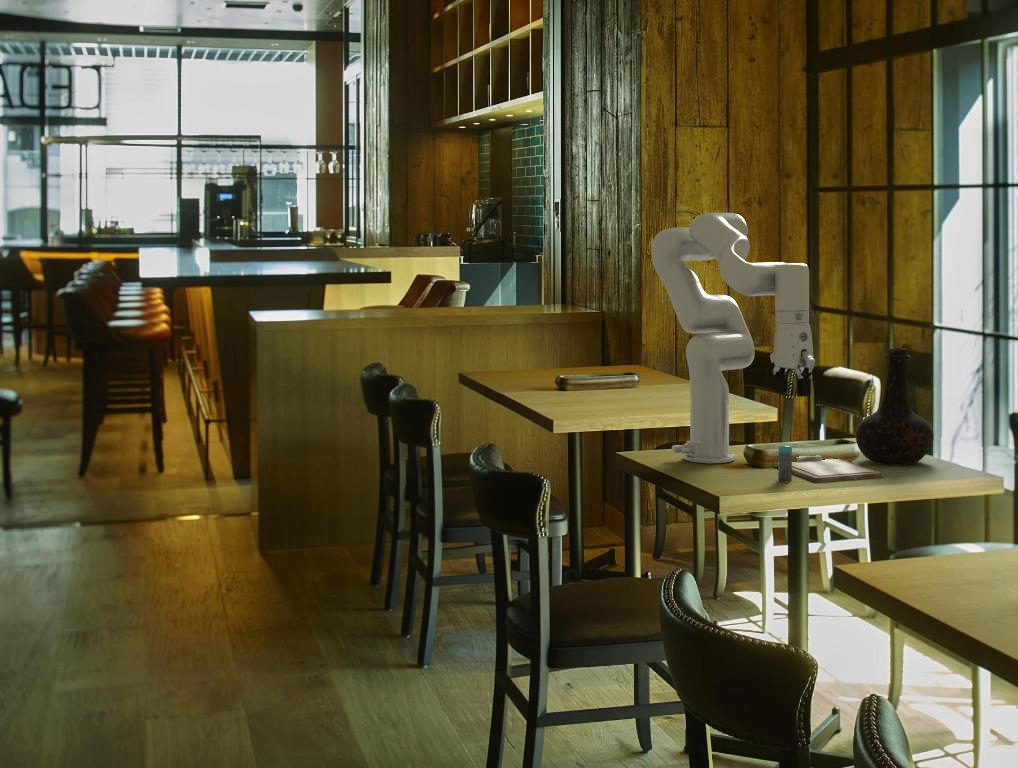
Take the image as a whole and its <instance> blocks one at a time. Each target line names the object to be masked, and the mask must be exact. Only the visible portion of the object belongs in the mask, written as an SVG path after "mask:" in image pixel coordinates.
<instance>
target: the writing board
mask: <svg viewBox="0 0 1018 768" xmlns="http://www.w3.org/2000/svg"><path fill="white" fill-rule="evenodd" d="M815 455H816V456H809V455H799V457H796V458H797V462H792V475H795V476H797V475H798V476H797V477H800V478H802V477H803V479H806V480H807V481H810V482H813V483H827V482H838V481H839V480H841V481H851V479H854V480H864V478H867V479H878V478H877V477H881V478H883V472H880V471H877V470H874V469H871V468H868V467H866V466H862V465H859V464H856V463H854V462H849V461H847V460H844V459H841V458H838V459H833V458H824V459H825V460H822V459H823V456H822V455H819V454H815ZM777 467H778V464H777Z"/></svg>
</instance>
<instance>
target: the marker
mask: <svg viewBox="0 0 1018 768" xmlns="http://www.w3.org/2000/svg"><path fill="white" fill-rule="evenodd" d="M777 454H778V468H777V469H778V470H777V472H778V473H777V478H778V479H777V481H778V480H779V481H778V482H780V481H788V482H787V483H790V482H789V481H791V482H792V480H793V479H792V478H793V477H792V476H793V474H792V461H793V446H792V445H789V444H781V445H778V453H777Z"/></svg>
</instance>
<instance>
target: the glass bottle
mask: <svg viewBox="0 0 1018 768" xmlns="http://www.w3.org/2000/svg"><path fill="white" fill-rule="evenodd" d="M885 357H886V358H888V360H887V362H888V363H887V373H886V379H885V387H884V392H883V397H882V400H881V403H880V406H879V407H878V409H877V410H876V411H875V412H872V413H871V414H869V415H867V416H866V417H864V418H863V419H862V420H861V421H860V422H859V424H858V426H857V429H856V432H855V441H856V446H857V447H858V449H859V451H860V452H861V454H862V455H863V456H864V457H865V458H866V459H868V460H869V461H871V462H873V463H877V464H879V465H886V464H887V466H912V465H914V464H916V463H919V461H921V460H922V459H923V458H924V457H925V456H926V455H927V454H928V453H929V451H930V450H931V447H932V445H933V443H934V432H933V428H932V427H931V424H930V423H929V422H928V421H927V420H926V419H925V418H923V417H922V416H920V415H918V414H916V413H915V412H914V411H913V410H912V408H911V405H910V400H909V399H910V398H909V386H908V384H909V383H908V359H911V358H912V356H911V355H909V354H908V348H904V347H895V348H891V347H890V348H888V353H887V354H886V355H885Z"/></svg>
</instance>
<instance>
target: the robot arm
mask: <svg viewBox="0 0 1018 768" xmlns="http://www.w3.org/2000/svg"><path fill="white" fill-rule="evenodd" d="M748 232H749V230H748V224H747V223H746V221H745V219H744V218H743V217H742V216H741V215H740V214H737V213H734V212H706V213H705V212H704V213H701V214H699V215H697V216H696V217H695V218H693V219H692V221H691V222H690V223H689V227H687V226H686V227H670V228H665V229H663V230H661V231H660V232H658V233H657V234H656V235H655V237H654V238H653V240H652V243H651V260H652V265H653V267H654V270H655V273H656V274H657V276H658V278H659V279H660V281H661V282H662V284H663V286H664V287H665V290H666V291H667V292H666V293H667V294H668V298H669V300H670V302H671V304H672V307H673V310H674V312H675V315H676V318H677V319H678V321H679V324H680V327H681V328H682V329H683V331H685V332H686V333H688V334H696V335H694V336H693V337H691V338H690V339H689V341H688V343H687V345H686V349H685V354H686V361H687V362H686V363H687V367H688V371H689V374H688V375H689V383H690V384H689V389H690V392H689V393H690V394H689V396H690V407H689V409H690V412H689V413H690V414H689V415H690V417H689V418H690V419H689V420H690V423H689V425H690V426H689V427H690V428H689V429H690V431H689V432H690V436H689V437H690V439H689V440H686V443H683V445H682V444H677V445H672V446H671V452H672V454H680V453H681V454H683V459H684V460H685V461H687V462H690V463H691V462H692V463H698V464H724V463H730V462H733V461H735V460H736V454H735V453H734V452H733V453H732V452H730V387H729V384H728V382H727V380H726V378H725V376H724V375H723V373H722V371H730V370H732V371H733V370H741V369H745V368H748V367H749V366H750V365H751V364H752V363H753V361H754V359H755V353H756V352H755V344H754V340H753V338H752V335H751V333H750V330H749V328H748V326H747V324H746V321H745V319H744V317H743V313H742V312H741V309H740V307H739V304H737V302H736V301H735V299H733V298H732V297H731V296H729V295H726V294H708V293H706V292H705V290H704V288H703V287H702V284H701V282H700V279H699V278H698V276H697V275H696V273H695V272H694V271H693V270H692V269H691V268H689V267H688V266H687V265H686V264H685V263H684V262H695V261H696V262H697V261H698V262H699V261H700V262H702V261H711V260H716V261H717V263H718V270H719V274H720V276H721V279H722V280H723V282H724V283H725V284H727V285H728V286H729V287H730V288H732V289H733V291H735V292H736V293H738V294H740V295H742V296H745V297H756V296H757V297H759V296H760V297H761V296H774V310H775V311H774V325H775V327H774V328H775V329H774V338H773V352H772V353H770V356H769V357H770V362H771V368H772V369H773V370H772V374H773V391H774V393H786V392H788V388H789V387H788V381H789V380H788V374H787V371H788V370H794V371H795V372H796V374H797V378H796V396H797V397H801V398H803V397H810V396H811V389H812V388H811V387H812V386H811V385H812V384H811V382H812V381H811V379H812V378H813V373H814V371H815V369H814V367H815V364H816V359H815V358H814V347H813V343H814V342H813V334H812V329H811V325H810V269H809V266H808V265H807V264H805V263H800V262H799V263H798V262H796V263H795V262H792V263H789V262H788V263H787V262H778V261H776V262H773V261H772V262H771V261H770V262H766V261H765V262H747V261H745V260H746V259H747V257H748V255H749V252H750V250H751V249H750V247H751V246H750V245H751V244H750V242H749V240H748V238H747V237H748Z"/></svg>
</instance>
